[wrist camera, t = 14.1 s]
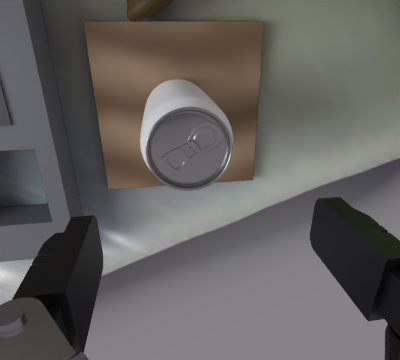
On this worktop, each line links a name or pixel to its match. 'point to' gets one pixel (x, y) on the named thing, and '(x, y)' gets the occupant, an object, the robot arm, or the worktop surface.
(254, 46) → the walnut board
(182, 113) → the can
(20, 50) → the grey block with hole
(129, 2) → the kendama
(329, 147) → the worktop surface
